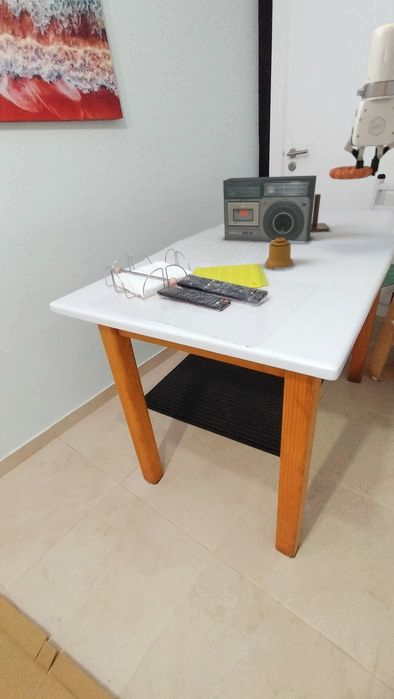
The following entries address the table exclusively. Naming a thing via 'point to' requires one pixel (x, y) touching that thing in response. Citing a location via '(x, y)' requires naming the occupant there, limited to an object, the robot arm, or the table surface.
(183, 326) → the table surface
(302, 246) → the table surface
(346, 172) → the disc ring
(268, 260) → the ornamental finial
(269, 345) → the table surface
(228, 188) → the cassette player
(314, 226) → the wooden bookend
